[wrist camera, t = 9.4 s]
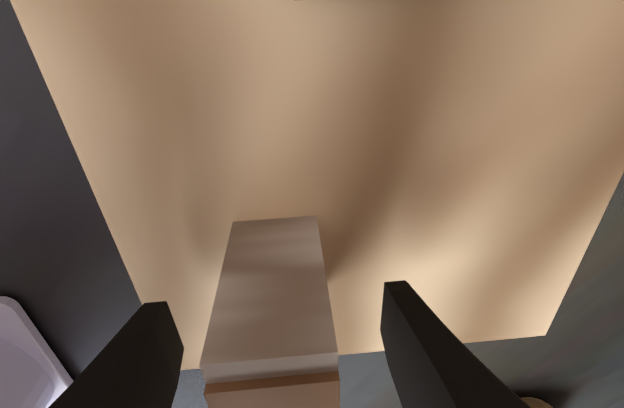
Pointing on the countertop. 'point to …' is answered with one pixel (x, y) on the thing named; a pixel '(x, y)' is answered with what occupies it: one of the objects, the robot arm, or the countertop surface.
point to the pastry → (535, 402)
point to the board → (347, 144)
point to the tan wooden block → (272, 321)
